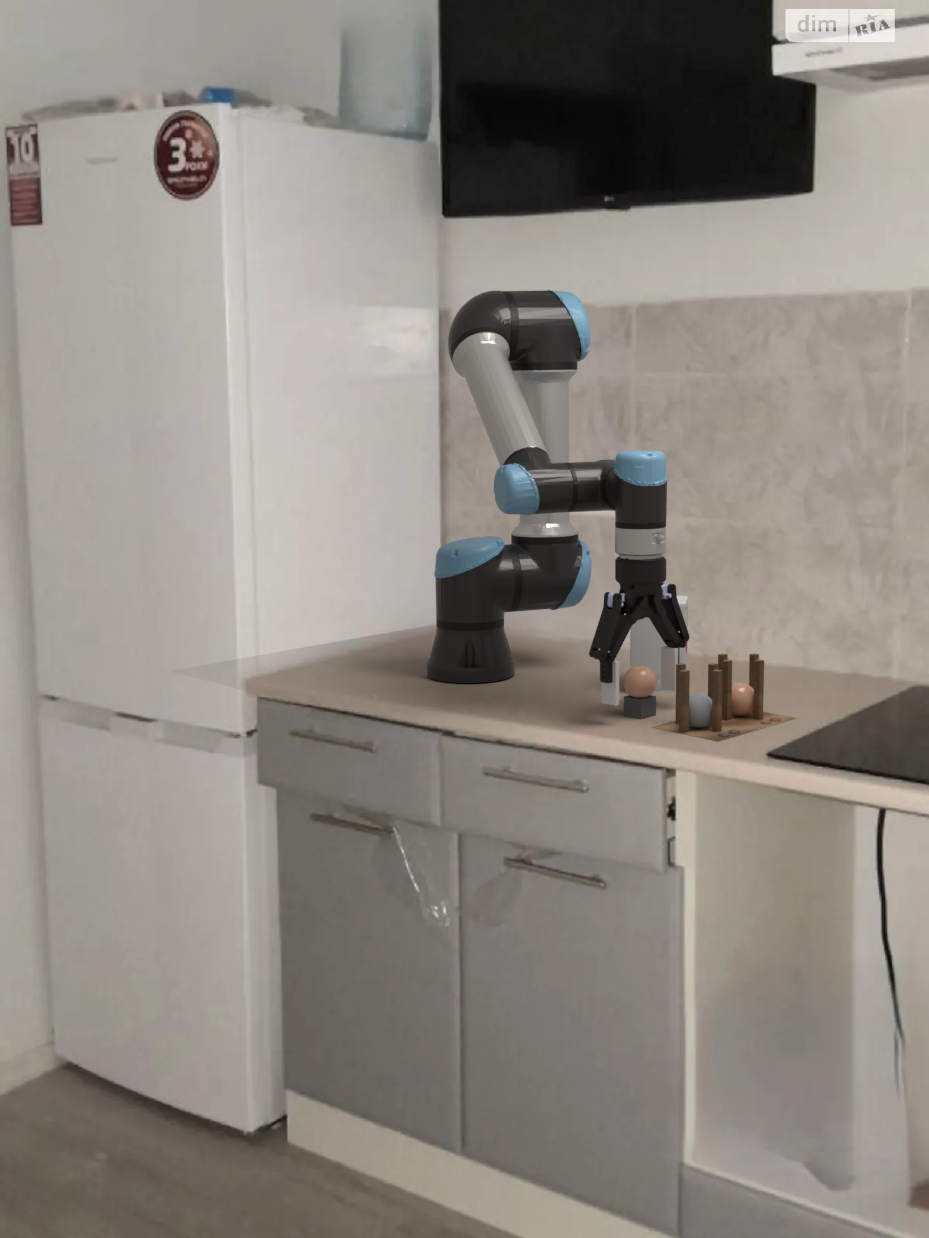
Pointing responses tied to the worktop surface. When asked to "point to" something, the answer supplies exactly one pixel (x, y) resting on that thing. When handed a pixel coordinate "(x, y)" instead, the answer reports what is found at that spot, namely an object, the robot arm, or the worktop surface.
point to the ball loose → (640, 682)
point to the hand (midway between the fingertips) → (640, 696)
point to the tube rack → (722, 702)
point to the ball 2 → (742, 699)
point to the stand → (639, 707)
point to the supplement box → (653, 644)
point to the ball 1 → (700, 710)
